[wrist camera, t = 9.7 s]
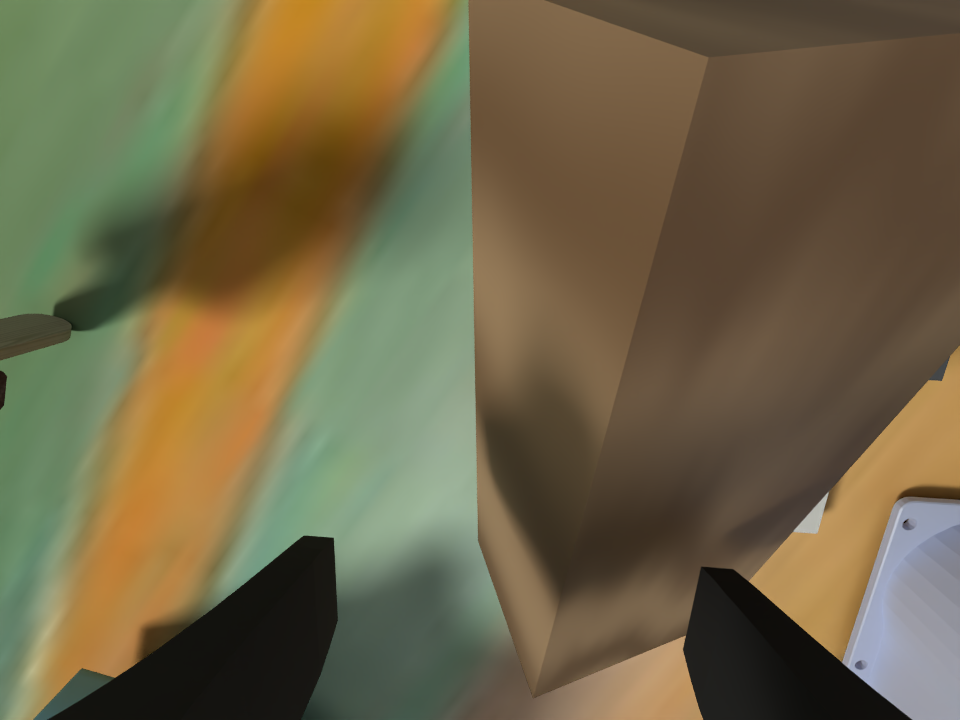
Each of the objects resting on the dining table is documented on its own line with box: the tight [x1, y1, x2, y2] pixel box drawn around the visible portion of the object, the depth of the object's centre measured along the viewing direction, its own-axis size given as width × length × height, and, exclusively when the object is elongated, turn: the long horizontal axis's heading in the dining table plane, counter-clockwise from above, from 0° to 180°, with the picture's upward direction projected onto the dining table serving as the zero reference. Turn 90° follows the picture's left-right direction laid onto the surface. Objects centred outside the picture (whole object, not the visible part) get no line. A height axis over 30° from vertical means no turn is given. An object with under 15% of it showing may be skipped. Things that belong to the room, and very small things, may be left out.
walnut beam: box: [469, 0, 960, 698], centre depth 11 cm, size 16×5×6 cm
